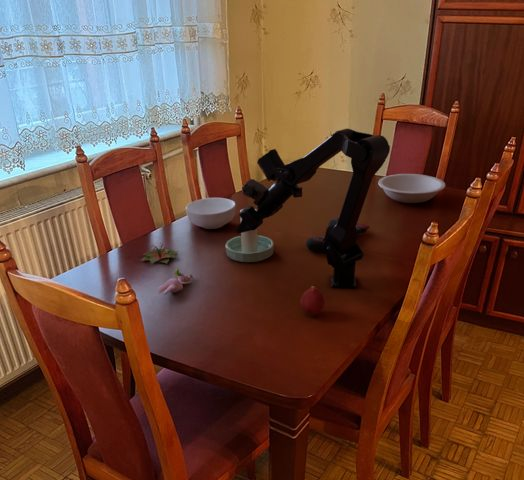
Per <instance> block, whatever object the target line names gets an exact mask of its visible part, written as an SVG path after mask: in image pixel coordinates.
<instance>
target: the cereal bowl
mask: <svg viewBox="0 0 524 480" xmlns="http://www.w3.org/2000/svg"><path fill="white" fill-rule="evenodd" d="M236 209H237V208H236V202H235V200H232V199H230V198H225V197H204V198H200V199H196V200H193V201H191V202H189V203H188V204H187V205H186V207H185V211H186V216H187V219H188V221H189V222H191V223H192V224H193V225H194V226H197V227H200V228H202V229H206V230H216V229H220V228H222V227H224V226H225V225H227V224H228V223H230V222H231V221H232V220H233V219H234V217H235V215H236Z"/></svg>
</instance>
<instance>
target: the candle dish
mask: <svg viewBox="0 0 524 480" xmlns="http://www.w3.org/2000/svg"><path fill="white" fill-rule="evenodd" d="M274 243H275V242H274V241H273V239H271V238H269V237H267V236H265V235H259V234H258V252H252V253H244V252H242V243H241V235H238V236H234V237H232V238H230V239H229V240H227V241H226V243H225V254H226V256H227V257H228V258H229V259H230V260H233V261H236V262H240V263H255V262H257V263H258V262H262V261H265V260H266V259H269V258H270V257H272V256H273V255H274V252H275V248H274V247H275V245H274Z"/></svg>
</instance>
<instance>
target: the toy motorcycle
mask: <svg viewBox="0 0 524 480" xmlns="http://www.w3.org/2000/svg"><path fill="white" fill-rule="evenodd" d="M338 219H339V217H335V218H332V219H330V220H329V222H328V223H327V225H328V226H327V227H330V226H332V225H335V224H337V222H338ZM369 229H370V226H369V225H368V224H366V223H361V222H359V223H358V222H357V225H356V230H357V234H358V235H361V234H363V233H366V232H367V231H368V230H369ZM324 238H325V236H312V237H309V238H307V239H306V242H305V246H306V248H307V249H309V250H310V251H312V252H318V253H324V252H325V249H324V242H325V241H323V239H324Z"/></svg>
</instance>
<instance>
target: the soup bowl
mask: <svg viewBox="0 0 524 480" xmlns="http://www.w3.org/2000/svg"><path fill="white" fill-rule="evenodd" d="M377 183H378V186H379V187H380V188H381V189H382V190H383V192H384V193H385V194H386V196H387V197H389V198H390V199H392V200H394V201H396V202H399V203H404V204H405V203H406V204H419V203H424V202H427V201H429V200H432V199H433V198H434V197H436V196H437V195H438V193H439V192H440V191H442V190H444V189H446V183H445V181H443V180H442V179H440V178H438V177H434V176H431V175H426V174H418V173H395V174H390V175H386V176H383V177H381V178H379V180H378V182H377Z"/></svg>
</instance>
